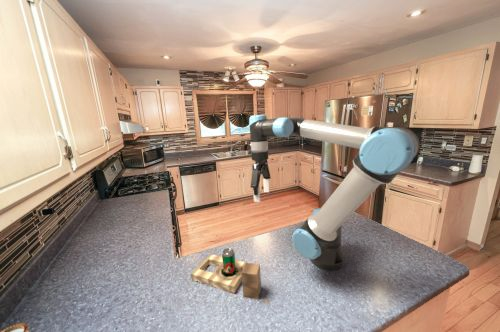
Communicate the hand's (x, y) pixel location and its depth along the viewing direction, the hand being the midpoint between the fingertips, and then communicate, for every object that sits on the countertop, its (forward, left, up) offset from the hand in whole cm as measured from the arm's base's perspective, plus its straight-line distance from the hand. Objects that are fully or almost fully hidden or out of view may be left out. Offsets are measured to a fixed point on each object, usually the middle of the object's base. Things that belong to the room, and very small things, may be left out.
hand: (262, 196), depth 95 cm
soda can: (+8, +21, -29) cm, 36 cm away
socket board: (+12, +21, -28) cm, 37 cm away
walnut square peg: (-4, +25, -28) cm, 38 cm away
